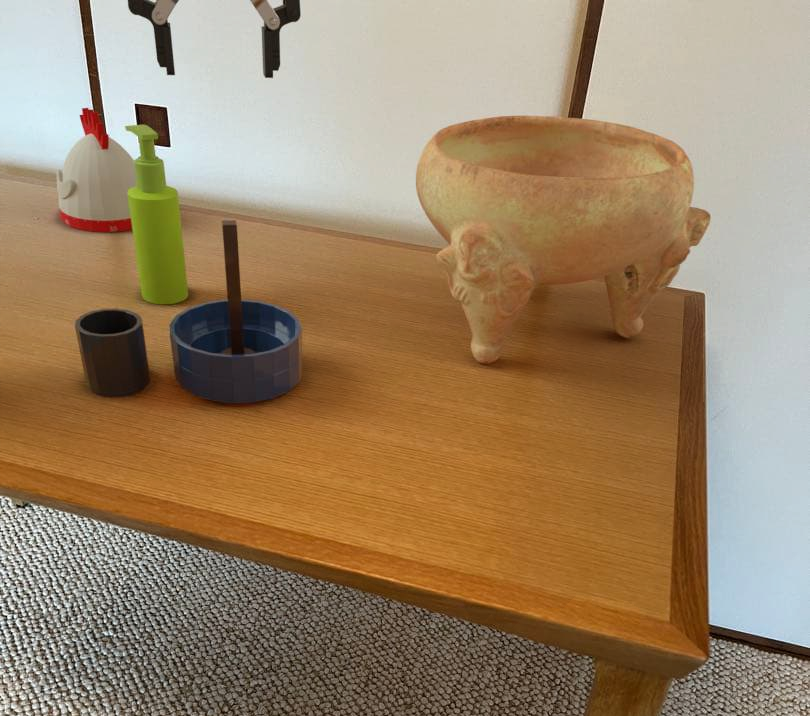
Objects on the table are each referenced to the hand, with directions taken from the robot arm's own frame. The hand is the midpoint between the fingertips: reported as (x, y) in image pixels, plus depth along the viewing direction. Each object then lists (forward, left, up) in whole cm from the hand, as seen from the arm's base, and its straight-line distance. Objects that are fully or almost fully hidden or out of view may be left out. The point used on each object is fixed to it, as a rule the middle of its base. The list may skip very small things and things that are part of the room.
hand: (219, 75), depth 73 cm
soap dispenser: (-8, +23, -30) cm, 39 cm away
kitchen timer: (-16, +53, -30) cm, 63 cm away
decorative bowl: (+39, +11, -30) cm, 51 cm away
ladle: (0, 0, -30) cm, 30 cm away
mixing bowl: (0, 0, -30) cm, 30 cm away
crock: (-13, 0, -30) cm, 33 cm away
